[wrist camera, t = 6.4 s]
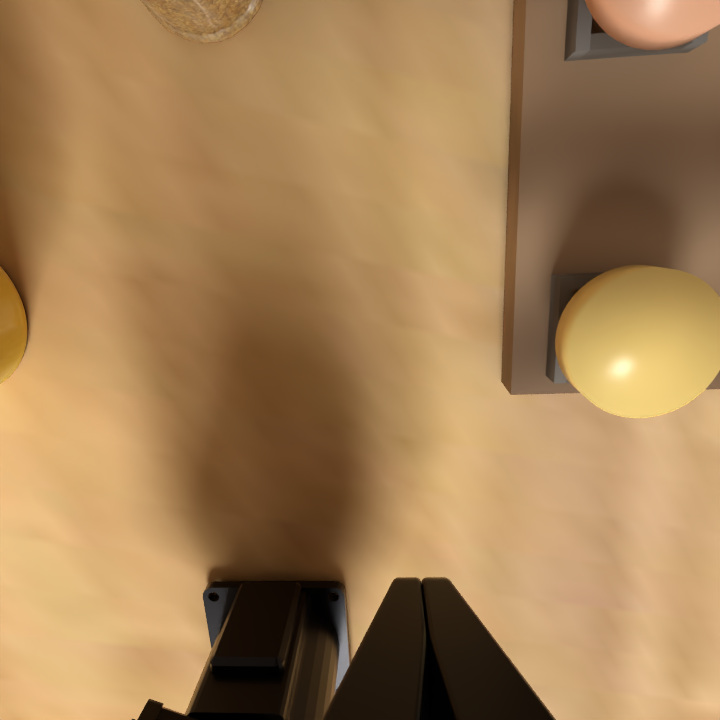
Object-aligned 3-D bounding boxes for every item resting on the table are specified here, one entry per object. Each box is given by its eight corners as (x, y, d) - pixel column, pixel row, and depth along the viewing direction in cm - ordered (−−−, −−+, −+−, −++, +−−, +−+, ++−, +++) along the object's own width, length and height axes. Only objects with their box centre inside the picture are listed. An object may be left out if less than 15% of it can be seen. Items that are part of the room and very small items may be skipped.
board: (822, 372, 18) (886, 393, 16) (501, 381, 19) (517, 403, 17) (932, -115, 14) (1038, -181, 12) (516, -77, 15) (540, -133, 13)
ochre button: (674, 391, 16) (717, 416, 14) (541, 395, 16) (564, 419, 14) (692, 258, 15) (742, 264, 13) (548, 265, 15) (574, 272, 13)
